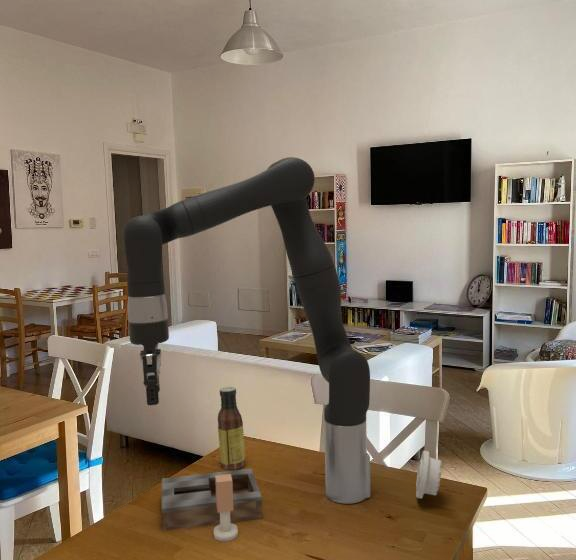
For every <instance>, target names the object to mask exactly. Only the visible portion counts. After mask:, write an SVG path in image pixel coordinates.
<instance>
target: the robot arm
mask: <svg viewBox="0 0 576 560" xmlns="http://www.w3.org/2000/svg"><path fill="white" fill-rule="evenodd" d="M315 181H316V180H315V173H314V171H313V168H312V167H311V165H310V164H309V163H308V162H307V161H306V160H304V159H301V158H298V157H293V156H290V157H289V156H288V157H283V158H281V159H279V160H277V161H274V162H273V163H272V164H270V166H269V165H268V167H267V169H266V170H264V171H262V172H259V173H258V174H256V175H254V176H252V177H250V178H247V179H245V180H242V181H239V182H235V183H233V184H229V185H227V186H223V187H220V188H216V189H213V190H210V191H205V192H203V193H200V194H197V195H194V196H192V197H189V198H186V199H183V200H180V201H178V202H175V203H173V204H171V205H169V206H168V207H165V208H162V209H159V210H156V211H155V210H154V211H153V212H149V213H146V214H143V215H138V216H135V217H133V218H131V219H130V220H129V221H127V223H126V224H125V226H124V229H123V242H124V251H125V259H126V265H127V270H126V271H127V272H126V283H127V284H126V285H127V286H126V287H127V296H128V297H127V299H128V300H127V318H128V331H129V342H130V344H132V345H134V346H136V345H137V346H140V345H142V347H143V349H142V350H140V353H139V360H140V363H141V374H142V375H141V376H143V381H142V382H143V385H144V387H145V394H146V405H148V406H157V405H159V403H160V397H159V393H160V391H161V389H160V388H161V387H160V376H159V375H161V366H162V349H161V348H159V344H162V343H165V342H167V341H169V339H170V332H169V318H168V315H169V314H168V305H167V304H168V303H167V300H166V295H165V293H166V291H165V277H164V276H165V275H164V271H163V245H165V244H168V243H170V242H172V241H175V240H178V239H182V238H187V237H191V236H193V235H197V234H199V233H202V232H204V231H207V230H210V229H212V228H215V227H216V226H219V225H222V224H224V223H227V222H229V221H231V220H233V219H236V218H238V217H241V216H243V215H246V214H249V213H250V212H253V211H257V210H260V209H263V208H267V207H270V206H271V209H272V211H273V214H274V216H275V219H276V220H277V224H278V226H279V228H280V231H281V236H282V239H283V244H284V247H285V252H286V256H287V259H288V262H289V266H290V269H291V270H290V271H291V275H292V277H293V281H294V284H295V287H296V291H297V294H298V297H299V299H300V301H301V305H302V308H303V311H304V313H305V316H306V318H307V322H308V324H309V326H310V329H311V332H312V336H313V341H314V346H315V351H316V357H317V362H318V367H319V368H318V369H319V370H320V374H321V376H322V377H323V379H324V380H325V381H326V382H327V383H328V403H327V404H326V405H325V407H324V411H323V414H324V415H323V417H324V419H323V422H324V424H323V425H324V469H325V472H324V473H325V479H324V480H325V481H324V482H325V483H324V484H325V486H324V487H325V496H326V497H327V498H328V499H329V500H330V501H332V502H335V503H339V504H348V505H349V504H351V505H352V504H357V503H360V502H362V501H364V500H366V499H368V498H369V499H370V498H371V456H370V454H369V453H368V449H367V447H368V445H367V444H368V443H367V437H368V436H367V413H368V411H369V407H370V397H371V396H370V395H371V394H370V393H371V392H370V391H371V370H370V366H369V365H370V364H369V362H368V359H367V358H366V357H365V356H364V355H363V354H362V353H361V352H359V351H357V350H355V349H354V348H353V346H352V345H351V342H350V340H349V337H348V335H347V331H346V329H345V327H344V326H345V325H344V323H343V317H342V289H341V284H340V279H339V275H338V272H337V268H336V266H335V262H334V260H333V256H332V254H331V252H330V250H329V248H328V246H327V244H326V242H325V241H324V239H323V237H322V236H321V234H320V233H319V231H318V229H317V227H316V225H315V223H314V221H313V219H312V216H311V212H310V209H309V204H308V199H307V197H308V196H309V195H310V193H311V192H312V190H313V187H314V186H315Z"/></svg>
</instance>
